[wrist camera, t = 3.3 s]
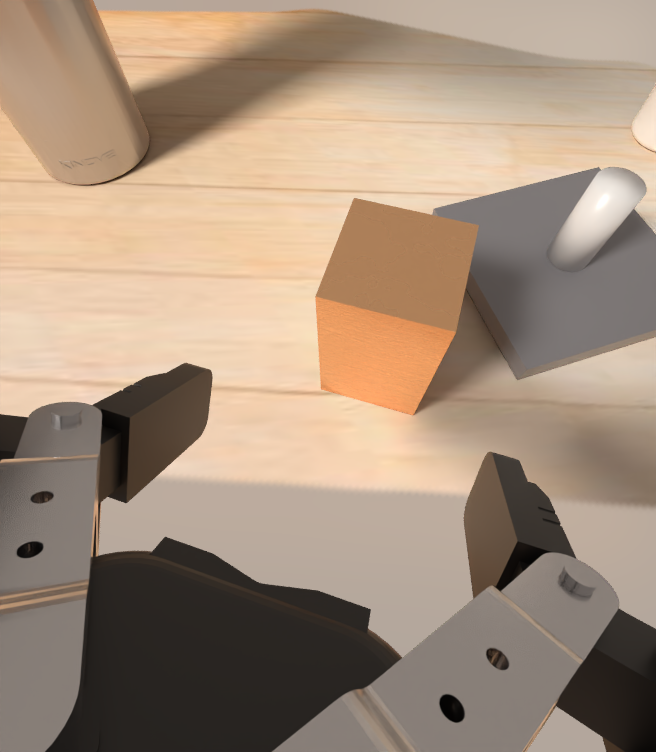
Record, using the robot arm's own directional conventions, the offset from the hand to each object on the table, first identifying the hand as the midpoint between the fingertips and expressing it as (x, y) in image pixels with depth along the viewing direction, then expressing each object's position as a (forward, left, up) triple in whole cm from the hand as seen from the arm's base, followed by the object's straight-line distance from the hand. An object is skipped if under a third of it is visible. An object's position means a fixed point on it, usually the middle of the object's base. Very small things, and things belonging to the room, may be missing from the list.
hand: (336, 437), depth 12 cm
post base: (-11, +21, -13) cm, 27 cm away
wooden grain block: (-8, +6, -13) cm, 16 cm away
